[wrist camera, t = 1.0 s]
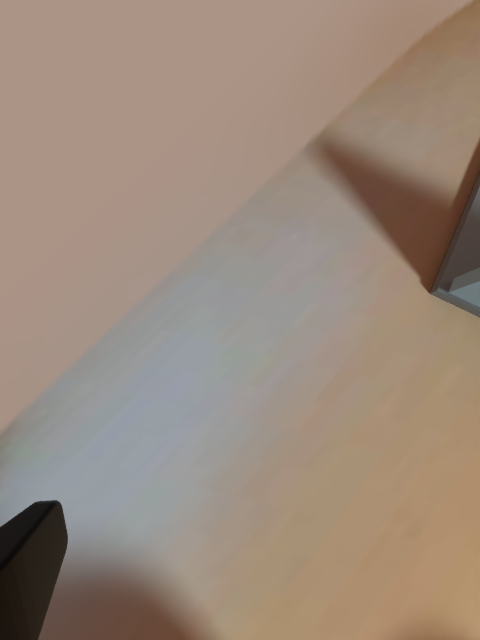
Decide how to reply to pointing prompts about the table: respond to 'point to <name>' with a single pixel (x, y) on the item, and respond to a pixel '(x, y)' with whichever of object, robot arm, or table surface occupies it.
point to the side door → (467, 287)
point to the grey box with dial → (461, 253)
